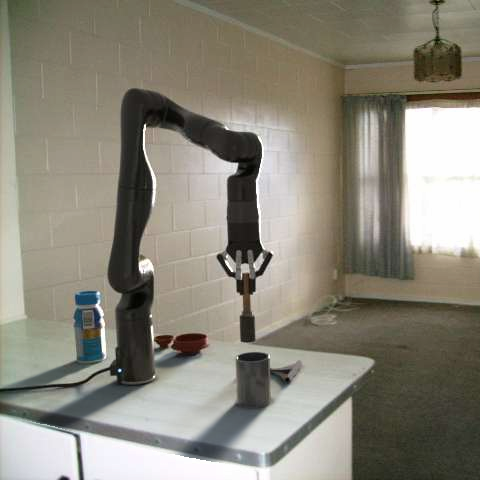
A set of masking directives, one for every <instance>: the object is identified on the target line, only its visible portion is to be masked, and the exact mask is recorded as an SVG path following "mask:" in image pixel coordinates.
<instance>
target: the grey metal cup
mask: <svg viewBox="0 0 480 480" xmlns="http://www.w3.org/2000/svg"><path fill="white" fill-rule="evenodd" d="M234 361H235V385H236V404H237V406H239V407H241V408H244V409H245V408H246V409H258V408H263V407H266V406H268V405H270V404H271V402H272V388H271V385H272V384H271V374H270V368H271V355H270V354H269V353H266V352H264V351H263V352H262V351H249V352H243V353H240V354H238V355H236V356H235V360H234Z"/></svg>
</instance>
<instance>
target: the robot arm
mask: <svg viewBox="0 0 480 480" xmlns="http://www.w3.org/2000/svg"><path fill="white" fill-rule="evenodd" d="M119 115H120V118H119V119H120V157H119V172H118V180H117V187H116V188H117V189H116V190H117V192H116V207H115V215H114V228H113V238H112V245H111V249H110V254H109V260H108V265H107V271H106V273H107V274H106V275H107V281H108V284H109V286H110V287H111V289H112V290H113V291H114V292H115V293H118V294H121V295H120V299H119V301H118V302H117V305H116V306H115V308H114V316H115V331H116V332H115V333H116V347H115V348H114V353H115V358H114V359H113V361H112V362H111V363H110V364H109V366H107V367H104V368H102V369H100V370H96V371H95V372H93V373H91V374H90V375H89V376H88V377H86V378H85V379H82V380H80V381H76V382H69V383H68V382H67V383H50V384H40V385H29V386H17V387H3V388H0V393H8V392H9V393H10V392H23V391H33V390H45V389H52V388H69V387H71V388H72V387H77V386H81V385H84V384H87V383H88V382H91V380H92V379H93V378H95V377H96V376H98V375H101V374H104V373H105V372H109V376H110V377H116V384H117V385H124V386H140V385H145V384H148V383H151V382H154V381H155V379H156V378H157V375H156V364H155V363H156V362H155V347H154V346H155V345H154V342H155V341H154V339H153V338H154V326H153V306H154V303H155V272H154V266H153V264H152V262H151V260H150V259H149V258H148V257H147V256H145V255H143V254H141V244H142V238H143V236H144V233H145V231H146V228H147V227H148V224H149V222H150V219H151V217H152V215H153V211H154V206H155V199H156V191H157V190H156V188H157V180H156V176H155V173H154V171H153V168H152V165H151V163H150V161H149V159H148V156H147V152H146V147H145V133H146V132H145V131H146V129H163V130H168V131H173V132H175V133H177V134H178V135H179V134H180V135H181V137H182V138H184V140H186V141H187V142H189V143H191V144H193V145H194V146H197V147H199V148H202V149H204V150H206V151H209V152H210V153H211V154H212V155H214V156H215V157H216V158H218V159H219V160H222V161H223V162H226V163H230V164H237V168H236V170H235V173H232V174H231V175H229V176H228V177H227V178H226V200H227V201H226V227H227V232H226V233H227V245H226V247H225V250H223V251H221V252H219V253H217V254H216V259H217V261H218V263H219V264H220V266H221V268H222V269H223V270H224V272H225V273H226V275H227V277H228V278H232V279H235V287H236V289H235V290H236V293H237V294H239V296H243V288H242V267H243V266H242V265H244V264H246V265H248V269H249V273H250V296H253V295H254V293H256V292H257V278H259V277H262V276H263V275H264V273H265V271H266V270H267V268H268V266H269V264H270V262H271V260H272V259H273V257H274V252H273V251H271V250H270V251H269V250H267V249H265V248H264V246H263V243H262V237H261V236H262V235H261V232H262V231H261V210H260V204H259V188H258V187H259V185H258V181H259V177H260V174H261V168H262V163H263V160H264V159H263V157H264V145H263V142H262V140H261V138H260V136H259V135H257V134H256V132H252V131H239V130H238V131H236V130H231V129H228V127H227V126H226V125H225V124H224V123H222V122H220V121H218V120H215V119H212V118H210V117H208V116H205V115H202V114H199V113H196V112H193V111H191V110H188V109H186V108H185V107H183V106H181V105H180V104H177V103H176V102H175V101H173V100H172V99H171V98H169V97H167V96H166V95H164V94H162V93H160V92H158V91H154V90H151V89H144V88H138V87H132V88H129V89H128V90H126V91H125V93H124V95H123V96H122V99H121V104H120V114H119ZM261 254H262V259H263V261H262V263H261V265H260V267H259V268H258V269H257V270H256V265H255V262H256V261H257V260H258V258H259V257H260V256H261ZM228 257H230V258H231V260H232V261H233V262H234V263H235V270H233V269H232V267H231V266H230V264H229V263H228V261H227V260H228Z"/></svg>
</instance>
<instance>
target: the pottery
mask: <svg viewBox="0 0 480 480" xmlns="http://www.w3.org/2000/svg"><path fill="white" fill-rule="evenodd" d="M153 342H155V343H156V345H158V347H159V349H169V348H171V349H172V350H174V351H177V352H180V354H182V355H185V356H187V355H188V356H189V355H191V356H192V355H196V354H200V353H201V352H202V350H204V349H207V348H209V347H210V346H211V342H210V341H209V340H208V335H207V334H205V333H201V332H200V333H197V332H191V333H190V332H189V333H182V334H179V335H176V336H175V335H172V334H161V335H155V336H153ZM172 342H173V343H172ZM171 343H172V344H171ZM170 344H171V345H170Z"/></svg>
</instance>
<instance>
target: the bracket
mask: <svg viewBox="0 0 480 480" xmlns="http://www.w3.org/2000/svg"><path fill="white" fill-rule="evenodd" d="M302 365H303V361H302V360H297V361H296V362H295V363H293V364H290V365H286V366H281V367H270V375H276V376H278V377H280V378H281V379H282V381H284V383H285V384H290V383H291V381H292V380H293V379H294V377H295V375H296V374H297V373H298V371H299V370H300V368H301V367H302Z"/></svg>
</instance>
